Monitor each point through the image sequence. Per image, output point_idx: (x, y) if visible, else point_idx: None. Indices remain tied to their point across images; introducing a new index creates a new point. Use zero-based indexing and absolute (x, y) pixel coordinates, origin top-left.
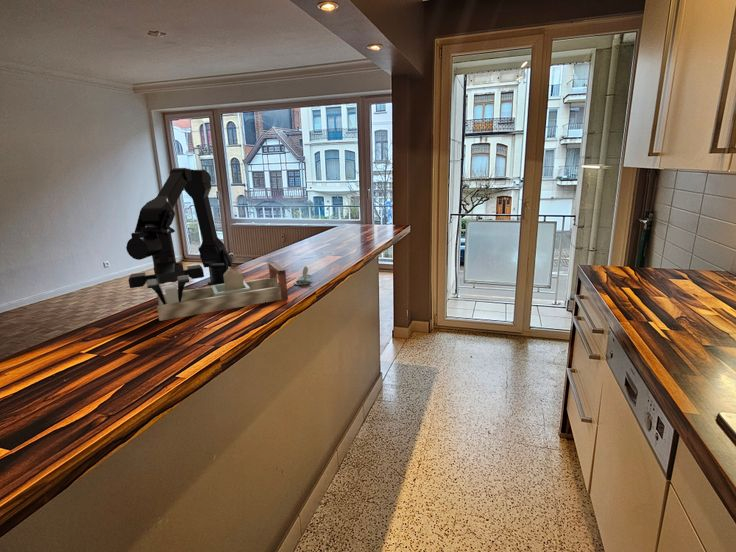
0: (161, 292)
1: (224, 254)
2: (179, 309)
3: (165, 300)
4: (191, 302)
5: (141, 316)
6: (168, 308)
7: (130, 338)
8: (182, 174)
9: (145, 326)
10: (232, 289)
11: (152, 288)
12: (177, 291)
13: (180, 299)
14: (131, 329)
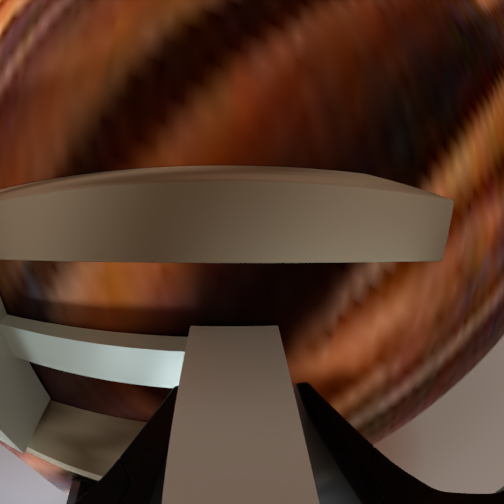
0: (360, 491)
1: None
2: (168, 173)
3: None
4: (8, 198)
5: (418, 341)
6: (308, 178)
7: (468, 5)
8: None
9: (442, 120)
10: None
11: (487, 495)
12: None
13: (163, 411)
14: (488, 131)
